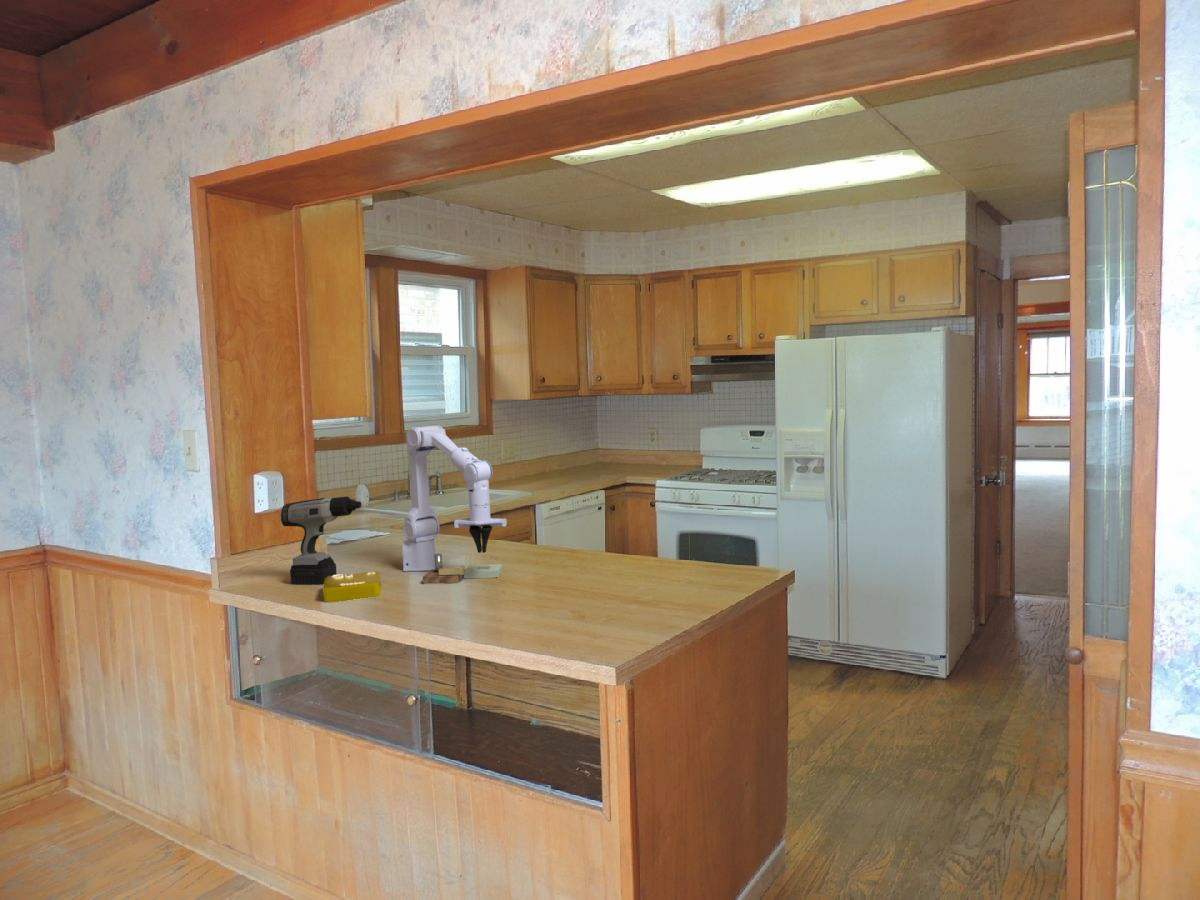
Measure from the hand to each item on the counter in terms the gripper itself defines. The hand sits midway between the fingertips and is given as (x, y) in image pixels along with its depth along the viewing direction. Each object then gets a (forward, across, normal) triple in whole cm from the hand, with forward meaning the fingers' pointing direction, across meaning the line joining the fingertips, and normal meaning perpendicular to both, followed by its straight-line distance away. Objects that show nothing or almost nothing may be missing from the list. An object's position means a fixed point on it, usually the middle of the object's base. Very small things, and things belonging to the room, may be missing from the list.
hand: (482, 552), depth 242 cm
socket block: (+8, -12, +3) cm, 15 cm away
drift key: (+6, -9, 0) cm, 11 cm away
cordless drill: (+9, -47, +4) cm, 48 cm away
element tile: (+9, -34, -10) cm, 37 cm away
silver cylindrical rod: (+8, -14, +5) cm, 17 cm away
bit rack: (+8, -2, +8) cm, 12 cm away
